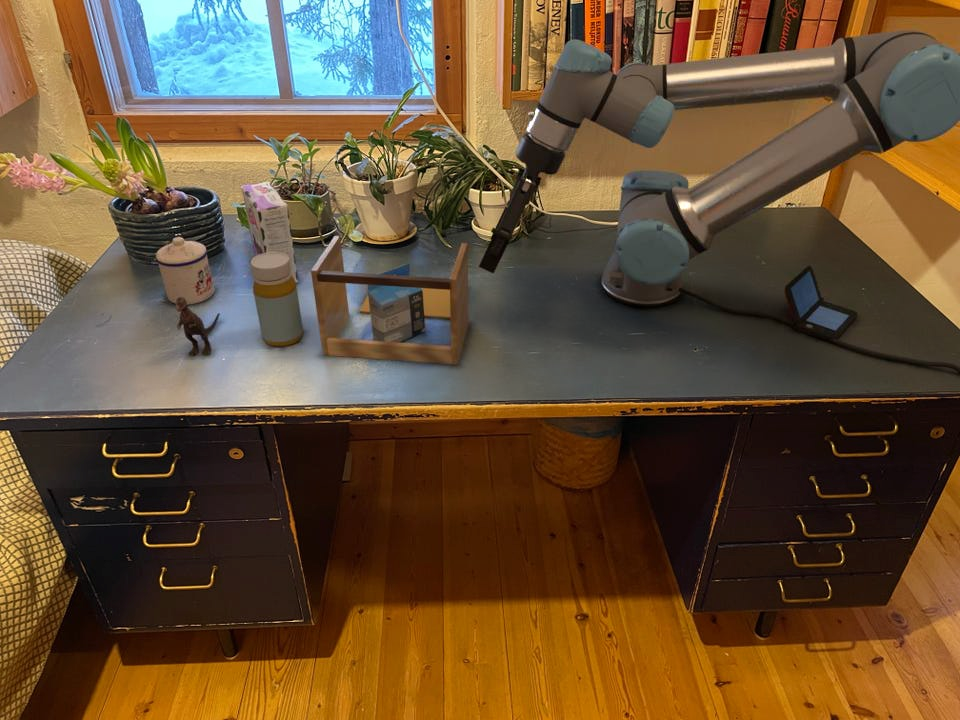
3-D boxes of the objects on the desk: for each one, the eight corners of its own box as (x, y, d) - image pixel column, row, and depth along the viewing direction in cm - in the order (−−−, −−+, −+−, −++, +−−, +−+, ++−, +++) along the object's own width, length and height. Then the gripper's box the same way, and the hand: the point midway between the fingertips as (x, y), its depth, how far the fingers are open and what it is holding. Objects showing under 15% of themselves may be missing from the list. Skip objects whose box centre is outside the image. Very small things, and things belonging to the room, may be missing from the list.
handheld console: (834, 345, 128) (846, 307, 123) (773, 323, 133) (782, 287, 129) (858, 317, 135) (870, 281, 131) (800, 298, 141) (809, 263, 137)
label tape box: (385, 350, 126) (379, 286, 119) (371, 340, 129) (365, 277, 122) (426, 332, 131) (423, 269, 124) (412, 323, 133) (408, 261, 126)
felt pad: (465, 287, 144) (465, 286, 144) (455, 319, 135) (455, 317, 134) (375, 282, 146) (375, 280, 146) (359, 312, 136) (359, 310, 136)
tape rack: (468, 324, 133) (467, 243, 124) (457, 365, 122) (455, 279, 113) (344, 316, 135) (334, 235, 126) (322, 355, 125) (310, 270, 116)
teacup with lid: (208, 306, 138) (195, 249, 132) (159, 306, 138) (143, 249, 132) (225, 276, 148) (214, 222, 142) (180, 276, 148) (166, 222, 142)
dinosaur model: (168, 302, 116) (194, 263, 128) (180, 366, 121) (203, 323, 134) (194, 302, 116) (217, 264, 129) (205, 366, 122) (226, 324, 135)
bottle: (259, 331, 131) (244, 255, 122) (299, 323, 133) (287, 247, 125) (266, 351, 126) (251, 273, 117) (307, 343, 128) (295, 265, 119)
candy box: (254, 260, 154) (239, 184, 145) (282, 254, 156) (269, 179, 147) (270, 289, 144) (256, 209, 135) (300, 282, 146) (288, 203, 137)
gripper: (531, 116, 128) (483, 223, 138) (516, 149, 106) (459, 272, 117) (570, 135, 128) (519, 240, 139) (562, 172, 107) (502, 292, 117)
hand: (491, 255), depth 128 cm, fingers open, 13 cm apart
